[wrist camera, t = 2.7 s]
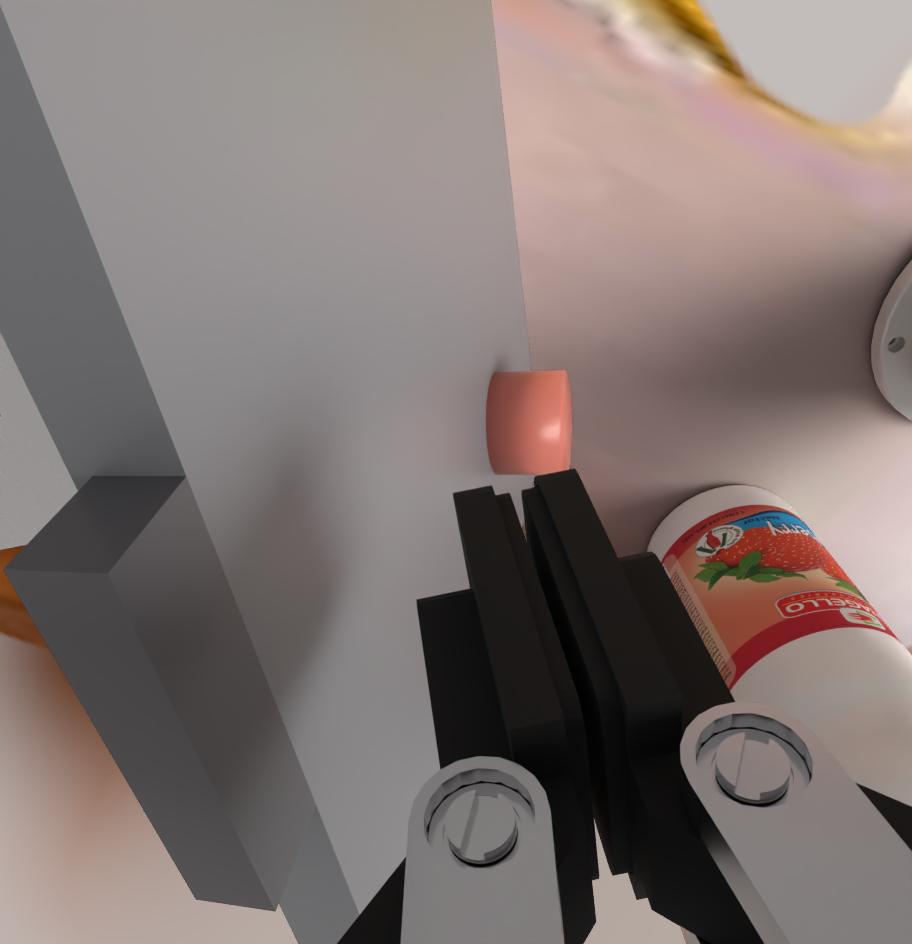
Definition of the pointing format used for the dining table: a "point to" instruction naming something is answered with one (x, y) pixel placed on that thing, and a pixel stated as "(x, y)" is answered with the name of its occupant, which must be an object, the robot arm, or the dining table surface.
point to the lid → (264, 402)
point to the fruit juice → (792, 628)
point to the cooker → (26, 462)
